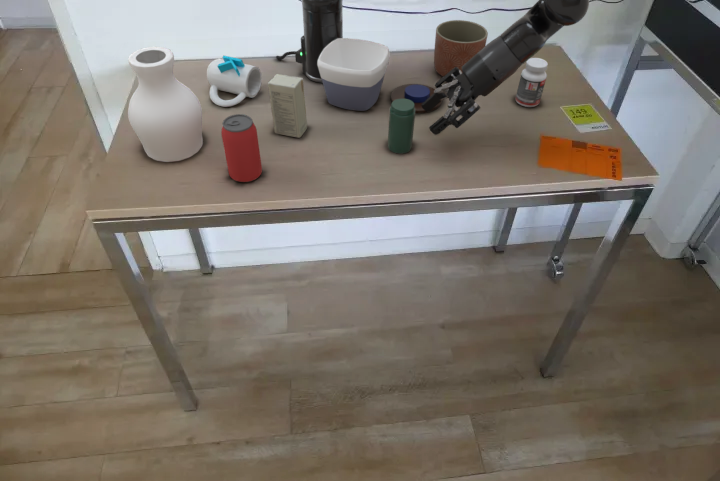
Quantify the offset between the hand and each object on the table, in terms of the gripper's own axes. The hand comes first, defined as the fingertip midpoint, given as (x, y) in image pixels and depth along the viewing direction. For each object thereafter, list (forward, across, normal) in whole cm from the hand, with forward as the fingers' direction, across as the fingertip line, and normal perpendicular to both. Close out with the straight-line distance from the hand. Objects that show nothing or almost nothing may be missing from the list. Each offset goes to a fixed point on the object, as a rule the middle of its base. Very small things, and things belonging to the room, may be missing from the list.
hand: (427, 120), depth 116 cm
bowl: (+14, -20, -5) cm, 25 cm away
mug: (+34, -24, -26) cm, 49 cm away
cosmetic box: (+25, -8, -16) cm, 30 cm away
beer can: (+31, +6, -22) cm, 39 cm away
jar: (+8, 0, +1) cm, 8 cm away
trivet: (+3, -18, +5) cm, 19 cm away
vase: (+42, -5, -33) cm, 54 cm away
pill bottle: (-15, -15, +24) cm, 32 cm away
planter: (-5, -30, +14) cm, 34 cm away
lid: (+2, -19, +4) cm, 19 cm away
